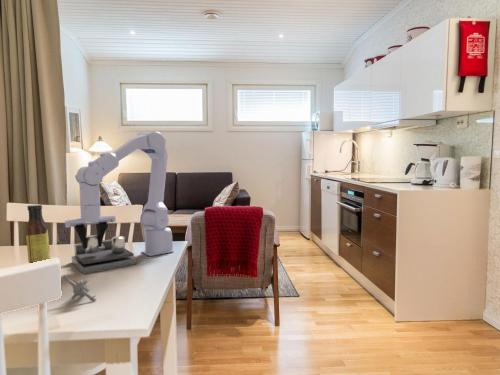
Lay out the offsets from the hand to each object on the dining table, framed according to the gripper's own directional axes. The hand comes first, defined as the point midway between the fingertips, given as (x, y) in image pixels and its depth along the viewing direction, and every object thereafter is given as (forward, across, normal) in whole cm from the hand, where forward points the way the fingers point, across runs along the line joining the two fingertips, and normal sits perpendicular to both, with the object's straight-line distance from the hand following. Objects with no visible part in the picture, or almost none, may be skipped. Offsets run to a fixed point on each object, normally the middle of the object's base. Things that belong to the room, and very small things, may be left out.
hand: (92, 247), depth 113 cm
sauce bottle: (+7, +13, -15) cm, 21 cm away
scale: (+7, -4, -3) cm, 8 cm away
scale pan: (+4, -4, -1) cm, 6 cm away
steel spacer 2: (+3, -8, 0) cm, 9 cm away
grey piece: (+7, +10, +25) cm, 28 cm away
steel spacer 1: (+2, 0, 0) cm, 2 cm away
